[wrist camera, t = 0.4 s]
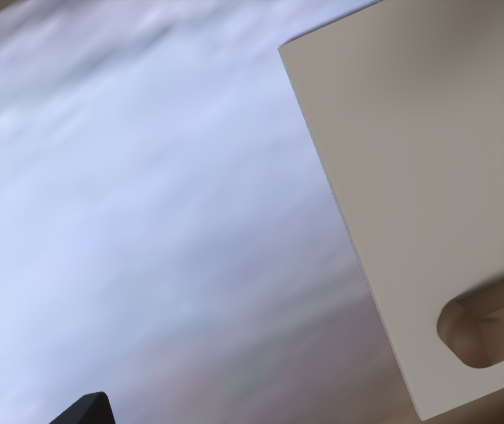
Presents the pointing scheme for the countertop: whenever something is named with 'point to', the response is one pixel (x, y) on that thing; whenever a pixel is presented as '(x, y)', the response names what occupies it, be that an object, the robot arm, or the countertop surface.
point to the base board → (414, 168)
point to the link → (475, 327)
